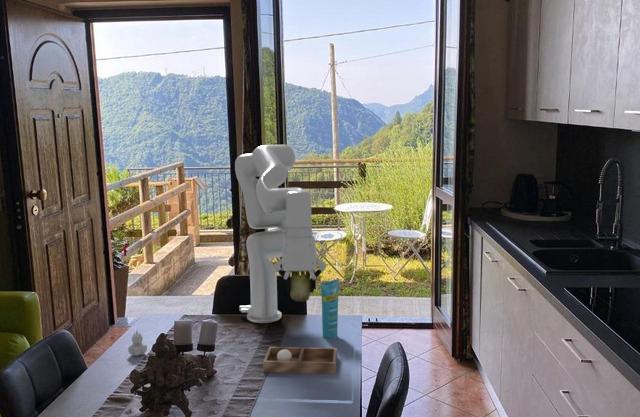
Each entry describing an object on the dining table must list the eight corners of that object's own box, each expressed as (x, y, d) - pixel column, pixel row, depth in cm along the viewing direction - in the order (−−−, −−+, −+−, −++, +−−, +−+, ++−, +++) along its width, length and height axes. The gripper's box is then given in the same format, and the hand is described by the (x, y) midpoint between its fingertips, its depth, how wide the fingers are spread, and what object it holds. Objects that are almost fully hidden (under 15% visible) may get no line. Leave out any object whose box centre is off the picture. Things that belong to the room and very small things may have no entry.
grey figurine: (148, 350, 174) (146, 326, 173) (146, 359, 167) (144, 333, 166) (130, 352, 173) (128, 327, 172) (127, 360, 166) (125, 335, 165)
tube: (327, 342, 179) (326, 284, 176) (317, 337, 182) (316, 281, 179) (343, 335, 184) (343, 279, 181) (332, 331, 187) (332, 276, 184)
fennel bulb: (313, 300, 166) (312, 261, 165) (303, 304, 162) (302, 264, 161) (297, 297, 170) (296, 259, 168) (287, 301, 166) (286, 262, 164)
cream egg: (275, 367, 159) (275, 352, 159) (278, 360, 164) (277, 346, 163) (291, 367, 159) (290, 353, 158) (293, 361, 163) (292, 346, 163)
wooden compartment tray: (263, 373, 157) (263, 361, 156) (269, 357, 167) (269, 346, 167) (335, 375, 155) (335, 363, 155) (337, 359, 166) (337, 348, 165)
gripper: (267, 234, 160) (269, 294, 163) (327, 234, 159) (328, 295, 161) (272, 230, 168) (274, 287, 170) (329, 229, 166) (330, 288, 168)
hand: (300, 290), depth 165 cm, fingers closed on fennel bulb, 6 cm apart
